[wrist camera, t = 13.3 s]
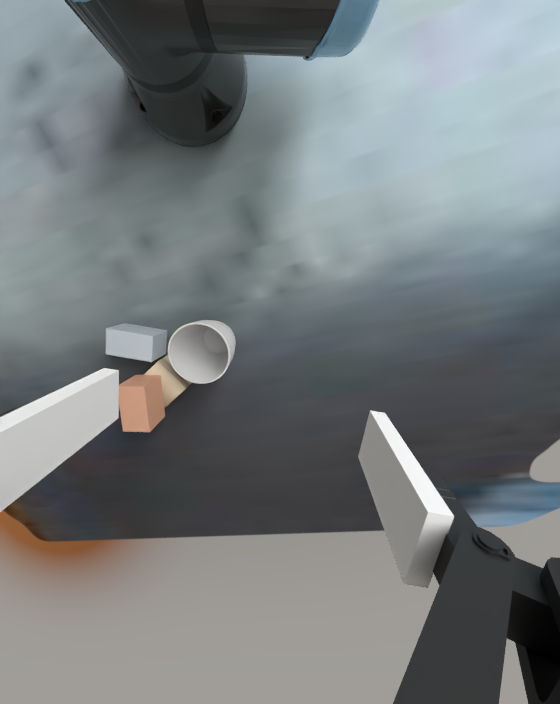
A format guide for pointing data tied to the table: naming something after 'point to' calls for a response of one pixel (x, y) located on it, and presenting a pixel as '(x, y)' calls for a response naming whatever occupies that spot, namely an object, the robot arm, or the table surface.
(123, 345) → the slate block
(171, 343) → the cup
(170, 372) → the maple block
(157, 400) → the terracotta block
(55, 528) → the table surface
